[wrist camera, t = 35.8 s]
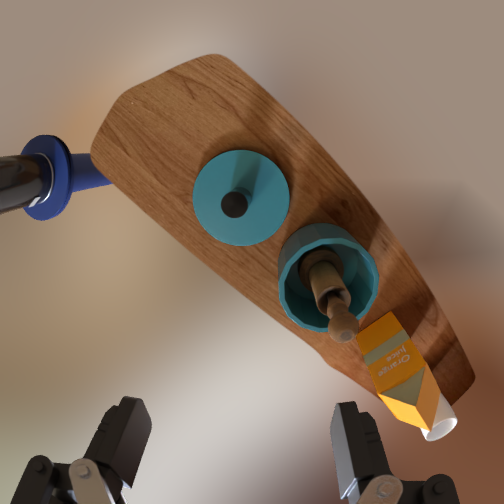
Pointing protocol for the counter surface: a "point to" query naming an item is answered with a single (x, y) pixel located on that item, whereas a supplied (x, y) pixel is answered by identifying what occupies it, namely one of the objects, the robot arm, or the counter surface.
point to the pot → (355, 278)
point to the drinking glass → (441, 421)
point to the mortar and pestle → (329, 290)
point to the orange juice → (399, 372)
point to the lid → (241, 197)
